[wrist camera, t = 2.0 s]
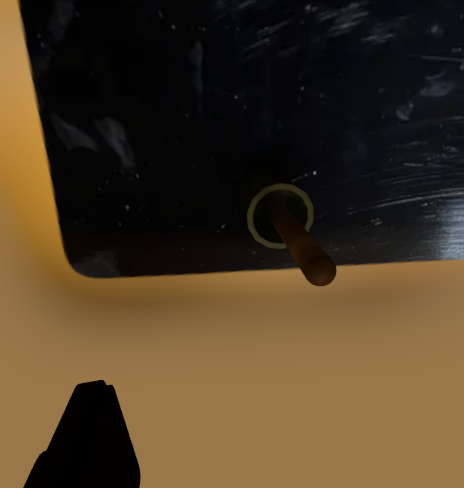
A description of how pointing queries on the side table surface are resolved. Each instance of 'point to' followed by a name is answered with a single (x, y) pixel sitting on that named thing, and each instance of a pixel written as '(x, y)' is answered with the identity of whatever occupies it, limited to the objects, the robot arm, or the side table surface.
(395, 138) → the side table surface
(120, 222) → the side table surface
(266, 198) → the stick
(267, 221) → the holder
